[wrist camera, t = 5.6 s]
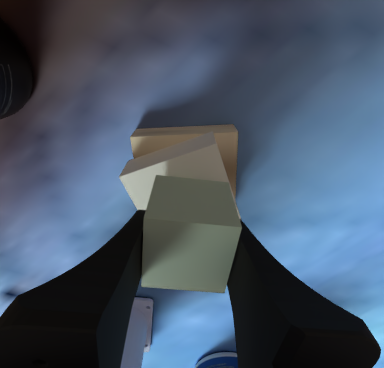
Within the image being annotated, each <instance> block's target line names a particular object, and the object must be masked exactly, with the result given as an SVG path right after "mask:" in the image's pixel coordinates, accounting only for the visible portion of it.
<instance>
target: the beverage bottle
mask: <svg viewBox="0 0 384 368" xmlns="http://www.w3.org/2000/svg"><path fill="white" fill-rule="evenodd" d="M195 368H238V360H237V353H234V352H220V353H214V354H211V355H208V356H206V357H204V358H203V359H201V360H200V361H199V362H198V363H197V365H196V366H195Z"/></svg>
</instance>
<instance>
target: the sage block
mask: <svg viewBox="0 0 384 368" xmlns="http://www.w3.org/2000/svg"><path fill="white" fill-rule="evenodd" d="M241 229H242V226H241V222H240V219H239V216H238V212H237V209H236V206H235V203H234V199H233V196H232V193H231V189H230V186H229V183H228V182H220V181H210V180H201V179H191V178H181V177H172V176H162V175H156V177H155V180H154V184H153V187H152V191H151V194H150V198H149V201H148V205H147V208H146V212H145V215H144V223H143V252H142V282H141V287H149V288H162V289H176V290H189V291H202V292H215V293H225V289H226V285H227V281H228V278H229V274H230V270H231V267H232V263H233V259H234V255H235V252H236V248H237V244H238V241H239V237H240V233H241Z"/></svg>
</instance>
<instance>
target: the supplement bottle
mask: <svg viewBox="0 0 384 368" xmlns="http://www.w3.org/2000/svg"><path fill="white" fill-rule="evenodd" d="M32 83H33V75H32V68H31V64H30V60H29V58H28V55H27V52H26V50H25V48H24V46H23V45H22V43H21V41H20V40H19V38H18V37H17V35H16V34H15V32H14V31H13V30H12V29H11V28H10V26H9V25H8V24H7V23H6V22H5V21H4V20H3V19H2V18H0V119H3V118H6V117H9V116H11V115H13V114H15V113H16V112H18V111H19V110H20V109H21V108H23V106H24V105H25V104H26V102H27V101H28V99H29V97H30V94H31V90H32Z"/></svg>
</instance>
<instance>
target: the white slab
mask: <svg viewBox="0 0 384 368" xmlns="http://www.w3.org/2000/svg"><path fill="white" fill-rule="evenodd" d="M156 175H162V176H172V177H181V178H191V179H201V180H210V181H220V182H228V183H229V180H228V177H227V174H226V171H225V168H224V165H223V161H222V158H221V155H220V152H219V149H218V146H217V143H216V140H215V137H214V134H213V131H211V132H209V133H206V134H203V135H200V136H197V137H194V138H192V139H189V140H186V141H183V142H180V143H177V144H174V145H172V146H169V147H166V148H163V149H160V150H157V151H155V152H152V153H149V154H146V155H143V156H140V157H138V158H135V159H132V160H129V161H128V162H127V164H126V166H125V168H124V169H123V171H122V173H121V174H120V176H119V178H120V179H121V181H122V183H123V185H124V187H125V188H126V190H127V192H128V194H129V196H130V197H131V199H132V201H133V203H134V205H135V206H136V208H137V210H146V208H147V205H148V201H149V198H150V194H151V191H152V187H153V184H154V180H155V177H156ZM229 186H230V183H229ZM230 189H231V186H230ZM231 193H232V196H233V199H234V203H235V206H236V209H237V212H238V216H239V219H241V217H240V214H239V211H238V208H237V204H236V201H235V198H234V195H233V192H232V189H231Z"/></svg>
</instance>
